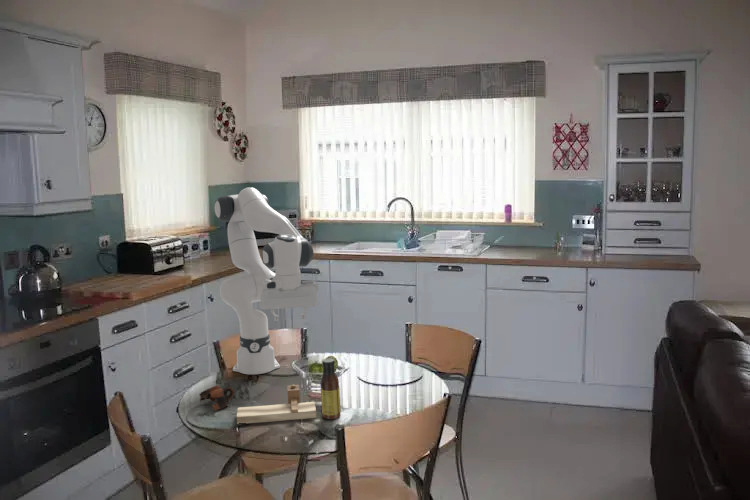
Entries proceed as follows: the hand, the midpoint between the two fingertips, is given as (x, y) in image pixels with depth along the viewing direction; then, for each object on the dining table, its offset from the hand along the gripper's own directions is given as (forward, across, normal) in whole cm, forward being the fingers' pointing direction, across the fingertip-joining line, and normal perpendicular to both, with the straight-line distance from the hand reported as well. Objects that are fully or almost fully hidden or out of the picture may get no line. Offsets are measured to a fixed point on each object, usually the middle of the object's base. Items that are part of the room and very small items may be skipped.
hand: (290, 319), depth 240 cm
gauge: (+29, 0, +13) cm, 32 cm away
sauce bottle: (+29, -12, +19) cm, 37 cm away
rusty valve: (+30, +26, +1) cm, 40 cm away
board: (+29, +6, +15) cm, 33 cm away
